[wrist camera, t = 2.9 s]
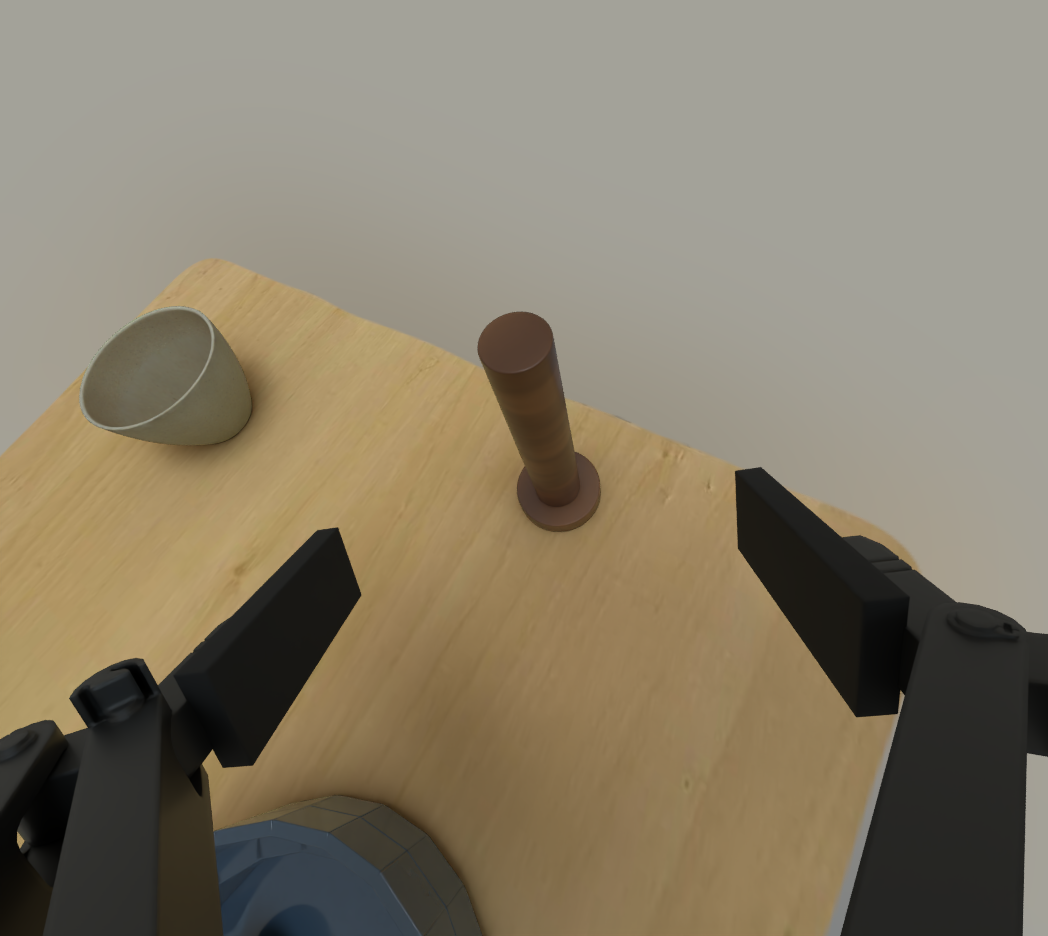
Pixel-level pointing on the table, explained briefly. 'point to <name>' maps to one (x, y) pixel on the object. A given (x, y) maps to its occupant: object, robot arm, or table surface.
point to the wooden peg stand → (538, 421)
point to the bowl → (337, 874)
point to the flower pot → (167, 381)
